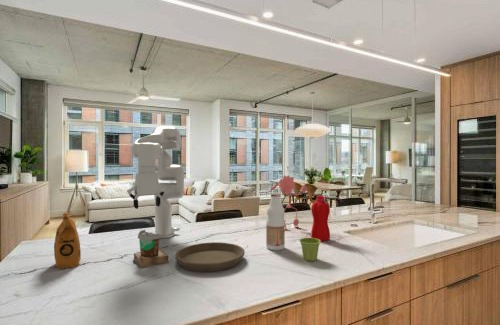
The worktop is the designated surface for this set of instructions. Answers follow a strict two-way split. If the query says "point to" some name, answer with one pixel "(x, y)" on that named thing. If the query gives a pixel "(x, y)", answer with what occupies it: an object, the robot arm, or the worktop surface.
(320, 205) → the water bottle
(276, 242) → the fruit juice
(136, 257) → the base
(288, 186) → the figurine
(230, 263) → the plant saucer
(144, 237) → the food container
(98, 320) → the worktop surface
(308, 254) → the plant pot
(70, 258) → the coffee package
